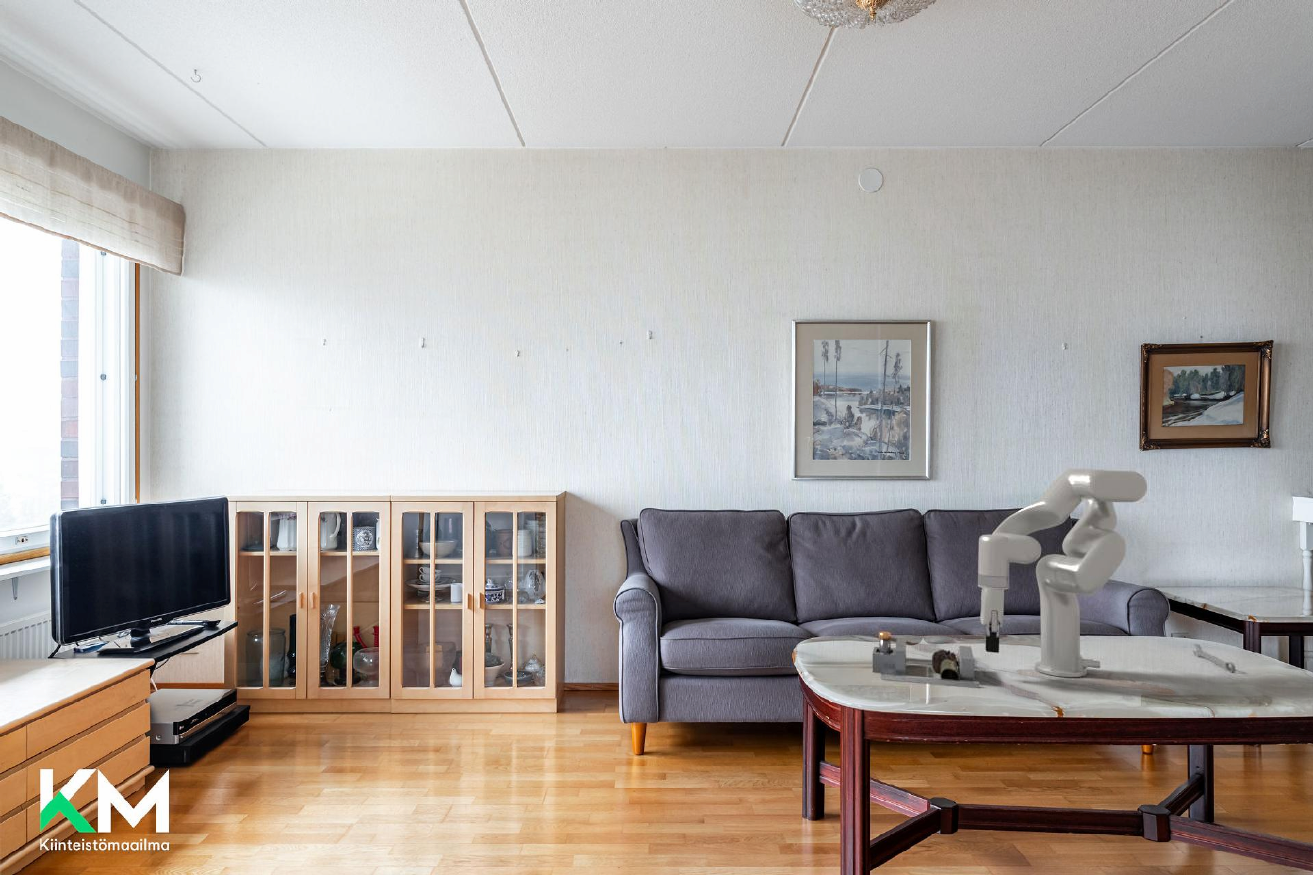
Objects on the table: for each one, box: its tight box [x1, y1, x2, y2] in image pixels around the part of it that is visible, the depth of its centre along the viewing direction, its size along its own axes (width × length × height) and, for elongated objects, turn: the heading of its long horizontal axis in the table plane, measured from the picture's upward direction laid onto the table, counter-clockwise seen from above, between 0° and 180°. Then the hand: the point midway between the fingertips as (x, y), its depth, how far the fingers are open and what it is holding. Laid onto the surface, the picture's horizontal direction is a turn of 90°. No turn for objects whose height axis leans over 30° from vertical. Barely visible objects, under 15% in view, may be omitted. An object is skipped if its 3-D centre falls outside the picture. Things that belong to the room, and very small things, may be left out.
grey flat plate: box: [880, 656, 980, 689], centre depth 212 cm, size 24×20×1 cm
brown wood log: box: [931, 649, 961, 680], centre depth 211 cm, size 18×7×6 cm, turn 161°
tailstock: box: [872, 638, 907, 676], centre depth 215 cm, size 8×14×7 cm, turn 161°
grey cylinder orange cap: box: [878, 631, 892, 653], centre depth 216 cm, size 3×3×10 cm
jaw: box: [957, 645, 975, 681], centre depth 209 cm, size 3×14×6 cm, turn 161°
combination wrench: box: [1192, 643, 1236, 674], centre depth 221 cm, size 4×1×20 cm
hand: (992, 651), depth 207 cm, fingers closed
